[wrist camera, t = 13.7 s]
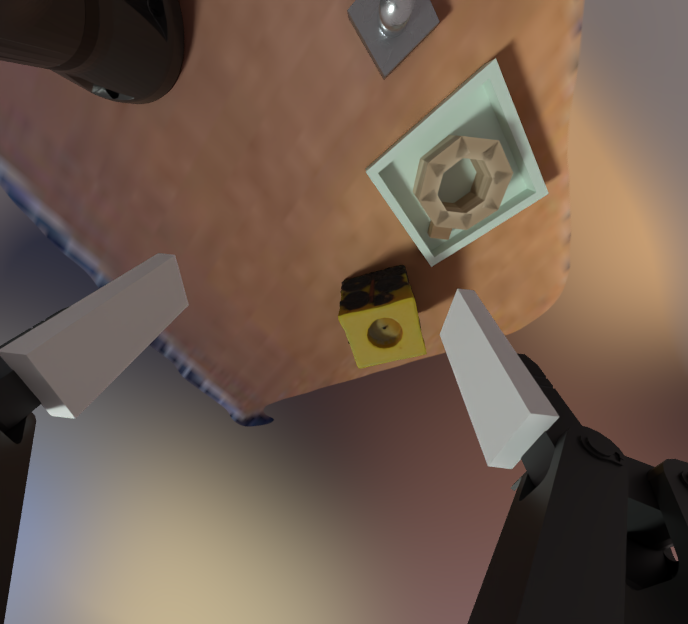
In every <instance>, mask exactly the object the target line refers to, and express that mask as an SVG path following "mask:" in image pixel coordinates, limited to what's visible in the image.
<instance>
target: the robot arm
mask: <svg viewBox="0 0 688 624" xmlns="http://www.w3.org/2000/svg"><path fill="white" fill-rule="evenodd" d="M183 53H184V29H183V21H182V15H181V10H180V5H179V1H178V0H0V60H1V61H7V62H12V63H18V64H23V65H28V66H34V67H40V68H45V69H50V70H52V71H54V72H55V73H57V74H59V75H61V76H63V77H64V78H66V79H68V80H70V81H71V82H73V83H75V84H77V85H79V86H80V87H82V88H84V89H86V90H88V91H89V92H91V93H93V94H95V95H98V96H100V97H102V98H105V99H108V100H112V101H116V102H122V103H131V104H145V103H150V102H153V101H156V100H158V99H159V98H161V97H162V96H164V95H165V94H166V93H167V92H168V91H169V90H170V89H171V87H172V86H173V85H174V83H175V81H176V79H177V77H178V75H179V72H180V69H181V65H182V60H183ZM187 306H188V301H187V297H186V293H185V290H184V286H183V282H182V279H181V275H180V271H179V268H178V264H177V260H176V257H175V255H170V254H161V253H158V254H156V255H155V256H153V257H151V258H150V259H148V260H146V261H145V262H143V263H141V264H140V265H138V266H137V267H135V268H133V269H132V270H130V271H128V272H127V273H125V274H123V275H122V276H120V277H118V278H117V279H115V280H113V281H112V282H110V283H108V284H107V285H105V286H103V287H102V288H100V289H98V290H97V291H95V292H94V293H92V294H90V295H89V296H87V297H85V298H84V299H82V300H80V301H79V302H77V303H75V304H74V305H72V306H70V307H67V308H65V309H62V310H60V311H58V312H56V313H55V314H53V315H51V316H50V317H48V318H46V320H45V321H41V322H40V323H38V324H36V325H35V326H33V328H32V329H28V330H26V331H25V332H23V333H21V334H20V335H18V336H16V337H15V338H13V339H11V340H9V341H8V342H7V343H4V344H3V345H1V346H0V624H4V619H5V613H6V606H7V600H8V594H9V588H10V581H11V575H12V568H13V563H14V556H15V550H16V544H17V538H18V531H19V525H20V519H21V513H22V506H23V500H24V494H25V487H26V481H27V475H28V469H29V462H30V456H31V450H32V444H33V437H34V431H35V424H36V418H35V415H34V414H33V413H32V411H33V410H34V409H35V408H37V407H38V406H39V405H40V404H42V406H43V407H44V408H45V409H46V410H47V411H48V413H49V414H50V415H51V416H57V417H66V418H74V419H75V418H77V416H78V415H80V414H81V412H82V411H84V410H85V409H86V408H87V406H88V405H90V404H91V403H92V402H93V401H94V400H95V399H96V398H97V397H98V396H99V395H100V394H101V393H102V391H103V390H104V389H105V388H106V387H107V386H108V385H109V384H110V383H111V382H112V381H113V380H114V379H115V378H116V377H117V376H118V375H119V374H120V373H121V372H122V371H123V370H124V369H125V368H126V367H127V366H128V365H129V364H130V363H131V362H132V361H133V360H134V359H135V358H136V357H137V356H138V355H139V354H140V353H141V352H142V351H143V350H144V349H145V348H146V347H147V346H148V345H149V344H150V343H151V342H152V341H153V340H154V339H155V338H156V337H157V336H158V335H159V334H160V333H161V332H162V331H163V330H164V329H165V328H166V327H167V326H168V325H169V324H170V323H171V322H172V321H173V320H174V319H175V318H176V317H177V316H178V315H179V314H180V313H181V312H182V311H183V310H184V309H185V308H186V307H187ZM440 336H441V339H442V342H443V345H444V347H445V350H446V353H447V355H448V358H449V361H450V364H451V367H452V369H453V372H454V375H455V377H456V380H457V383H458V386H459V388H460V391H461V394H462V397H463V399H464V402H465V405H466V408H467V410H468V413H469V415H470V418H471V421H472V424H473V427H474V429H475V432H476V435H477V437H478V440H479V443H480V446H481V449H482V451H483V454H484V457H485V459H486V462H487V465H488V466H491V467H499V468H508V469H512V468H513V467H514V466H515V465H516V464H517V463H518V462H519V461H520V460H522V462H523V464H524V466H525V468H526V470H527V471H526V472H525V473H524V474H523V476H521V477H520V479H519V480H517V481H516V482H515V483H514V485H513V486H512V487H511V489H513V490H514V491H515V490H516V488H517V491H516V494H515V497H514V499H513V502H512V505H511V507H510V510H509V513H508V516H507V518H506V521H505V524H504V527H503V529H502V532H501V535H500V537H499V540H498V543H497V545H496V548H495V551H494V553H493V556H492V559H491V562H490V564H489V567H488V570H487V572H486V575H485V578H484V580H483V583H482V586H481V589H480V592H479V594H478V597H477V599H476V602H475V605H474V608H473V610H472V613H471V616H470V619H469V621H468V624H688V463H687V462H683V461H680V460H676V459H666V460H665V461H663V462H662V463H660V464H659V465H657V466H656V467H653V466H651V465H648V464H645V463H643V462H640V461H637V460H635V459H632V458H629V457H626V456H624V455H623V453H622V452H621V450H620V449H619V448H618V447H617V446H616V445H615V444H614V443H613V442H612V441H611V440H610V439H608V438H607V437H605V436H604V435H602V434H601V433H599V432H597V431H595V430H593V429H590V428H588V427H585V426H582V425H581V424H580V422H579V421H578V420H577V418H576V417H575V416H574V414H573V413H572V411H571V410H570V409H569V407H568V406H567V405H566V404H565V402H564V400H563V399H562V398H561V396H560V395H559V394H558V392H557V391H556V390H555V389H553V385H552V384H551V383H550V381H549V380H548V379H546V376H545V375H544V373H543V372H542V370H541V369H540V368H539V366H538V365H537V364H536V363H535V362H533V361H532V360H531V359H530V358H528V357H527V356H526V355H525V354H517V353H516V352H515V350H514V349H513V347H512V346H511V344H510V343H509V341H508V340H507V338H506V337H505V335H504V334H503V333H502V331H501V330H500V328H499V327H498V325H497V324H496V322H495V321H494V319H493V318H492V316H491V315H490V313H489V312H488V310H487V309H486V307H485V306H484V304H483V303H482V301H481V300H480V299H479V297H478V296H477V294H476V293H475V291H474V290H466V289H457V291H456V294H455V296H454V299H453V302H452V304H451V307H450V309H449V312H448V315H447V317H446V320H445V322H444V325H443V327H442V330H441V333H440ZM673 546H674V548H675V551H676V553H677V556H678V561H676V560H675V558H674V556H673V554H672V551H671V548H670V547H673Z"/></svg>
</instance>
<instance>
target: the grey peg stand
mask: <svg viewBox="0 0 688 624" xmlns="http://www.w3.org/2000/svg"><path fill="white" fill-rule="evenodd" d="M347 12H348V18H349V20H350V21H351V23H352V25H353V27H354V29H355V30H356V32H357V34H358V36H359V37H360V39H361V41H362V43H363V44H364V46H365V48H366V50H367V51H368V53H369V55H370V57H371V58H372V60H373V62H374V64H375V65H376V67H377V69H378V71H379V72H380V74H381V76H382V78H383V79H385V78H386V77H387V76H388V75H389V74H390V73H391V72H392V71H393V70H394V69H395V68H396V67H397V66H398V65H399V64H400V63H401V62H402V61H403V60H404V59H405V58H406V57H407V56H408V55H409V54H410V53H411V52H412V51H413V50H414V49H415V48H416V47H417V46H418V45H419V44H420V43H421V42H422V41H423V40H424V39H425V38H426V37H427V36H428V35H429V34H430V33H431V32H432V31H433V30H434V29H435V27H436V26H437V25H438V23H439V22H440V21H439V19H438V17H437V15H436V12H435V10H434V8H433V6H432V4H431V1H430V0H356V1H355V2H354V3H353V4H352V5H351V7H350V8H349V9H348V10H347Z"/></svg>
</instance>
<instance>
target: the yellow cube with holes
mask: <svg viewBox="0 0 688 624" xmlns="http://www.w3.org/2000/svg"><path fill="white" fill-rule="evenodd" d="M341 289H342V290H341V301H340V311H339V314H338V319H339V322H340V324H341V325H342V327H343V329H344V330H345V333H346V336H347V339H348V343H349V344H350V346H351V349H352V352H353V355H354V358H355V361H356V364H357V366H358V368H365V367H369V366H374V365H378V364H383V363H387V362H391V361H396V360H401V359H406V358H411V357H417V356H421V355H425V354H426V348H425V343H424V340H423V337H422V333H421V326H420V320H419V317H418V312H417V307H416V302H415V298H414V295H413V293H412V291H411V286H410V285H409V281H408V276H407V271H406V269H405V266H404V265H401V266H395V267H393V268H387V269H385V270H381V271H377V272H373V273H370V274H366V275H363V276H360V277H356V278H352V279H349V280H344V281H343V282H342V287H341Z"/></svg>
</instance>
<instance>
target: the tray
mask: <svg viewBox="0 0 688 624" xmlns="http://www.w3.org/2000/svg"><path fill="white" fill-rule="evenodd" d="M448 135H456V136H466V137H475V138H483V139H491V140H499V142H500V144H501V146H502V148H503V151H504V153H505V155H506V158H507V160H508V162H509V164H510V167H511V169H512V171H513V175H512V177H511V180H510V182H509V185H508V187H507V190H506V192H505V195H504V197H503V199H502V202H501V204H500V207H499V209H498V210H497V211H496V212H494V213H492V214H491V215H489V216H488V217H486V218H485V219H483V220H482V221H480V222H479V223H477V224H475V225H474V226H472V227H471V228H469V229H468V230H462V229H453V228H452V231H451V234H450V237H449V240H445V239H436V238H430V237H429V235H428V233H427V232H428V228H429V225H430V221H431V219H430V218H429V217H428V215H427V214H426V212H425V211H424V209H423V207H422V206H421V204H420V203H419V201H418V199H417V198H416V196H415V195H414V193H413V187H414V183H415V178H416V174H417V169H418V165H419V161H420V158H421V157H422V156H423V155H425V154H426V153H427V152H428V151H430V150H431V149H432V148H433V147H434V146H436V145H437V144H438V143H439V142H441V141H442V140H443V139H444V138H446V137H447V136H448ZM366 173H367V174H368V176H369V177H370V179H371V180H372V182H373V183H374V184H375V186H376V187H377V189H378V190H379V192H380V193H381V195H382V196H383V198H384V199H385V200H386V202H387V203H388V205H389V206H390V208H391V209H392V211H393V212H394V213H395V215H396V216H397V218H398V219H399V221H400V222H401V224H402V225H403V227H404V228H405V229H406V231H407V232H408V234H409V235H410V237H411V238H412V240H413V241H414V243H415V244H416V245H417V247H418V248H419V250H420V251H421V253H422V254H423V256H424V257H425V258H426V260H427V261H428V263H429V264H430V266H431V267H432V266H434V265H435V264H437V263H439V262H440V261H442V260H443V259H445V258H447V257H448V256H450V255H451V254H453V253H455V252H456V251H458V250H459V249H461V248H463V247H464V246H466V245H467V244H469V243H471V242H472V241H474V240H475V239H477V238H479V237H480V236H482V235H483V234H485V233H487V232H488V231H490V230H491V229H493V228H495V227H496V226H498V225H499V224H501V223H503V222H504V221H506V220H507V219H509V218H511V217H512V216H514V215H515V214H517V213H519V212H520V211H522V210H523V209H525V208H527V207H528V206H530V205H531V204H533V203H535V202H536V201H538V200H539V199H541V198H543V197H544V196H546V195H547V194H549V193H548V191H547V188H546V185H545V183H544V180H543V178H542V175H541V173H540V170H539V168H538V165H537V162H536V160H535V157H534V155H533V152H532V150H531V147H530V145H529V142H528V139H527V137H526V134H525V132H524V129H523V127H522V124H521V122H520V119H519V116H518V114H517V111H516V109H515V106H514V104H513V101H512V99H511V96H510V93H509V91H508V88H507V86H506V83H505V81H504V78H503V75H502V73H501V70H500V68H499V65H498V63H497V60H496V58H495V59H493V60H491V61H489V62H488V63H486V64H484V65H483V66H482V67H480V68H479V69H478V70H477V71H476V72H475V73H474V74H473V75H471V76H470V77H469V78H468V79H467V80H466V81H465V82H463V83H462V84H461V85H460V86H459V87H458V88H457V89H455V90H454V91H453V92H452V93H451V94H450V95H449V96H448V97H446V98H445V99H444V100H443V101H442V102H441V103H440V104H438V105H437V106H436V107H435V108H434V109H433V110H432V111H430V112H429V113H428V114H427V115H426V116H425V117H424V118H423V119H421V120H420V121H419V122H418V123H417V124H416V125H415V126H413V127H412V128H411V129H410V130H409V131H408V132H407V133H405V134H404V135H403V136H402V137H401V138H400V139H399V140H398V141H396V142H395V143H394V144H393V145H392V146H391V147H390V148H388V149H387V150H386V151H385V152H384V153H383V154H382V155H380V156H379V157H378V158H377V159H376V160H375V161H374V162H373V163H371V164H370V165H369V166H368V167H367V168H366ZM475 175H476V170H475V168H474V166H473V164H472V162H471V160H470V159H467V158H462V159H461V160H460V161H458V162H457V163H456V164H455V165H453V166H452V167H451V168H449V169H448V170H447V171H445V172H444V173H443V176H442V180H441V184H440V187H439V191H438V197H439V199H440V200H441V202H448V203H455V202H456V201H458V200H459V199H460V198H462V197H463V196H465V195H466V194H468V193H469V192H470V190H471V187H472V184H473V181H474V178H475Z"/></svg>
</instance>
